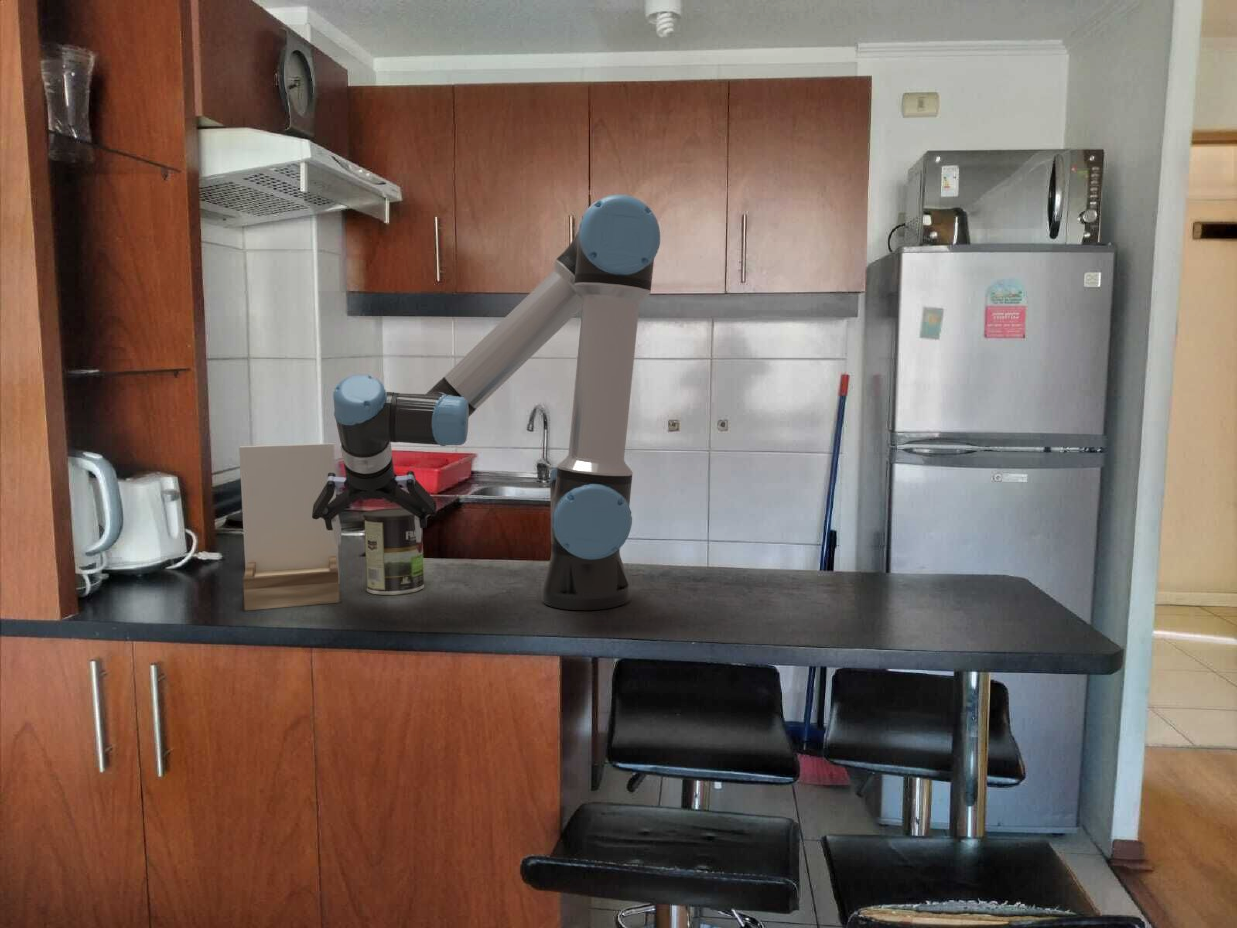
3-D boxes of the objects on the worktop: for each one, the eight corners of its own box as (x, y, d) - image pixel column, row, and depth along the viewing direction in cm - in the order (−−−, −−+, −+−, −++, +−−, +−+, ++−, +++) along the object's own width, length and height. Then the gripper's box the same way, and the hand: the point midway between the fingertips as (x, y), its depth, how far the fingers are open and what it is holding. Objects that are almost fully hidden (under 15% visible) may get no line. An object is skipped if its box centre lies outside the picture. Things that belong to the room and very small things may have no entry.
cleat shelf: (339, 602, 159) (338, 571, 158) (244, 610, 154) (243, 578, 153) (336, 584, 172) (335, 556, 171) (249, 591, 167) (248, 562, 166)
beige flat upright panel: (339, 584, 172) (333, 444, 169) (246, 591, 167) (239, 447, 164) (339, 581, 174) (333, 443, 171) (247, 589, 169) (239, 446, 166)
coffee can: (433, 583, 172) (431, 507, 171) (410, 596, 162) (407, 516, 161) (381, 581, 174) (379, 506, 173) (355, 594, 164) (352, 515, 163)
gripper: (282, 477, 142) (302, 557, 158) (448, 474, 146) (451, 552, 162) (287, 441, 147) (306, 521, 163) (448, 439, 151) (451, 518, 167)
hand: (379, 537), depth 162 cm, fingers open, 13 cm apart
